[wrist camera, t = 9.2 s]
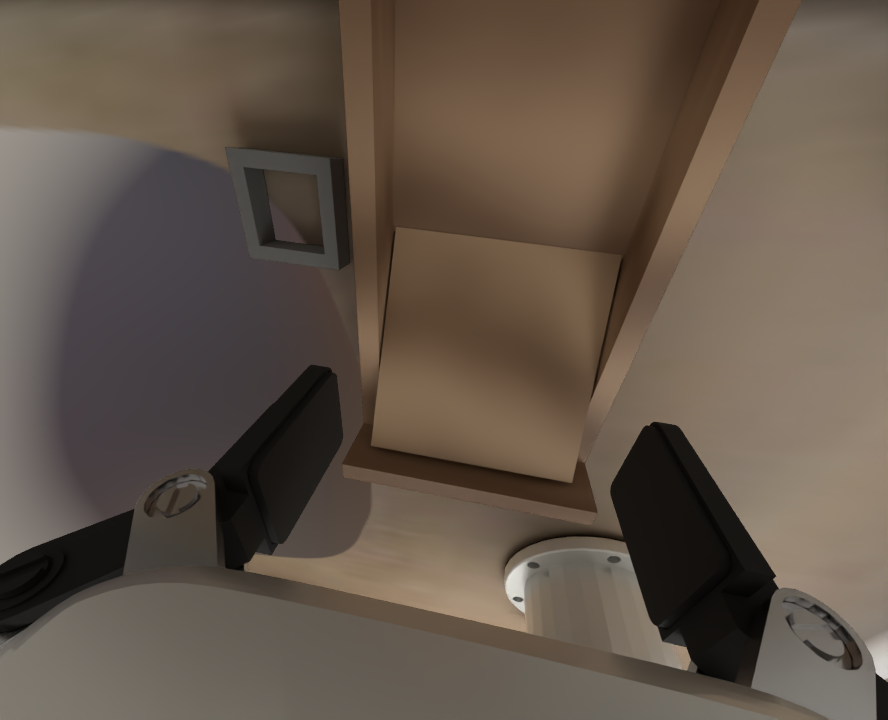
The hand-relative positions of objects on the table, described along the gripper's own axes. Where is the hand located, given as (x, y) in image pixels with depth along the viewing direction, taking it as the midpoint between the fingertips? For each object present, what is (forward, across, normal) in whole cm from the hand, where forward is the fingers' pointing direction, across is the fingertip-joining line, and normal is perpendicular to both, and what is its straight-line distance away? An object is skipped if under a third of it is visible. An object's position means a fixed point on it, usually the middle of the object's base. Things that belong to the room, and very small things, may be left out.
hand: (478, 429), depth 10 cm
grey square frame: (+7, +9, -4) cm, 12 cm away
